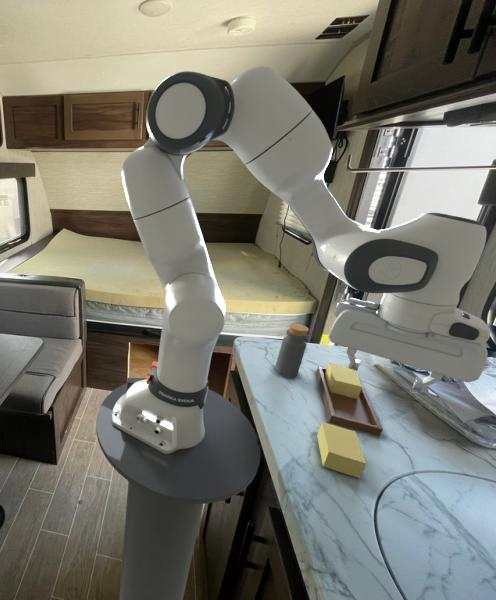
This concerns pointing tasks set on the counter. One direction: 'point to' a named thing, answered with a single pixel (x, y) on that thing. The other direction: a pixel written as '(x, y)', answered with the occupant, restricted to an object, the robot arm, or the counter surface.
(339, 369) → the seated pad
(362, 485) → the counter surface
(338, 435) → the foam pad
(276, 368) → the bottle
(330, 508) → the counter surface
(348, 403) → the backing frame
